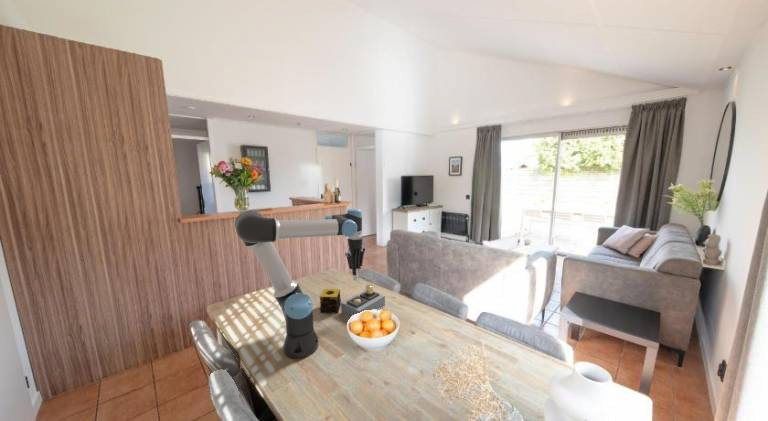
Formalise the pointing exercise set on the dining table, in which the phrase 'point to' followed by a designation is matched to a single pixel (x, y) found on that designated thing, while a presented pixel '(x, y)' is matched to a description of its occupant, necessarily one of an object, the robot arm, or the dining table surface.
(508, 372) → the dining table surface
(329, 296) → the candle
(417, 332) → the dining table surface
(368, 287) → the brass peg
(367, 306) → the socket block
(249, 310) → the dining table surface
